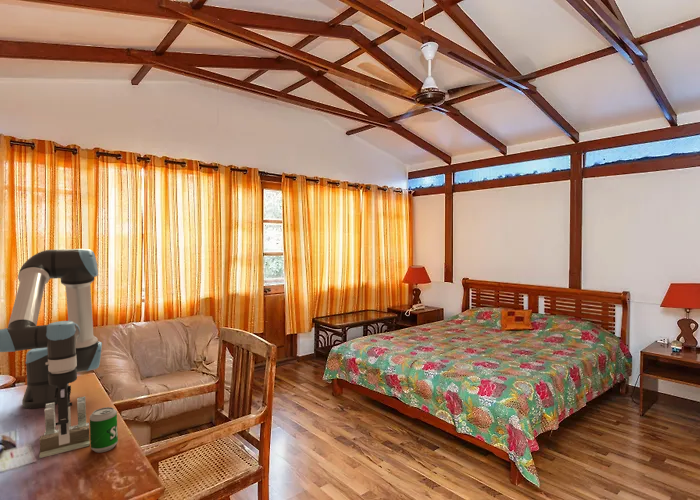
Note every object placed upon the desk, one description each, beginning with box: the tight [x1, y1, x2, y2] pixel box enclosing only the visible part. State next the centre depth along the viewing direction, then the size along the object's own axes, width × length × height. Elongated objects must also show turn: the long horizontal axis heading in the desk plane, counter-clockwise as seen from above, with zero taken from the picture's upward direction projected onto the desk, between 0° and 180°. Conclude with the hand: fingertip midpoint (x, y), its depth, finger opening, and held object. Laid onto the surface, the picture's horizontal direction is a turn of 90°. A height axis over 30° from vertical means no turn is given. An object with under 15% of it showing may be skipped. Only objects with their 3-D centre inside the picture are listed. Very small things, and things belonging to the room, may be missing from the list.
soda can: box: [89, 406, 119, 453], centre depth 130 cm, size 8×8×12 cm
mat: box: [38, 439, 91, 459], centre depth 131 cm, size 7×13×1 cm, turn 123°
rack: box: [43, 395, 90, 436], centre depth 141 cm, size 7×13×10 cm, turn 123°
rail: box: [39, 424, 90, 453], centre depth 131 cm, size 13×3×4 cm, turn 123°
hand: (65, 435), depth 131 cm, fingers open, 13 cm apart
